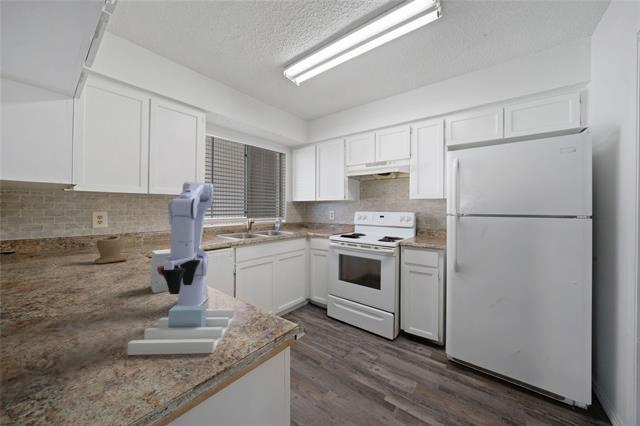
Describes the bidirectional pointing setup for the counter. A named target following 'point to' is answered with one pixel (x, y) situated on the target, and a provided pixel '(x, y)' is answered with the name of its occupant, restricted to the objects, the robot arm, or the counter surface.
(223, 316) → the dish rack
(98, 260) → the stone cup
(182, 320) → the blue block
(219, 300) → the counter surface
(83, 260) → the counter surface
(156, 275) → the supplement box
